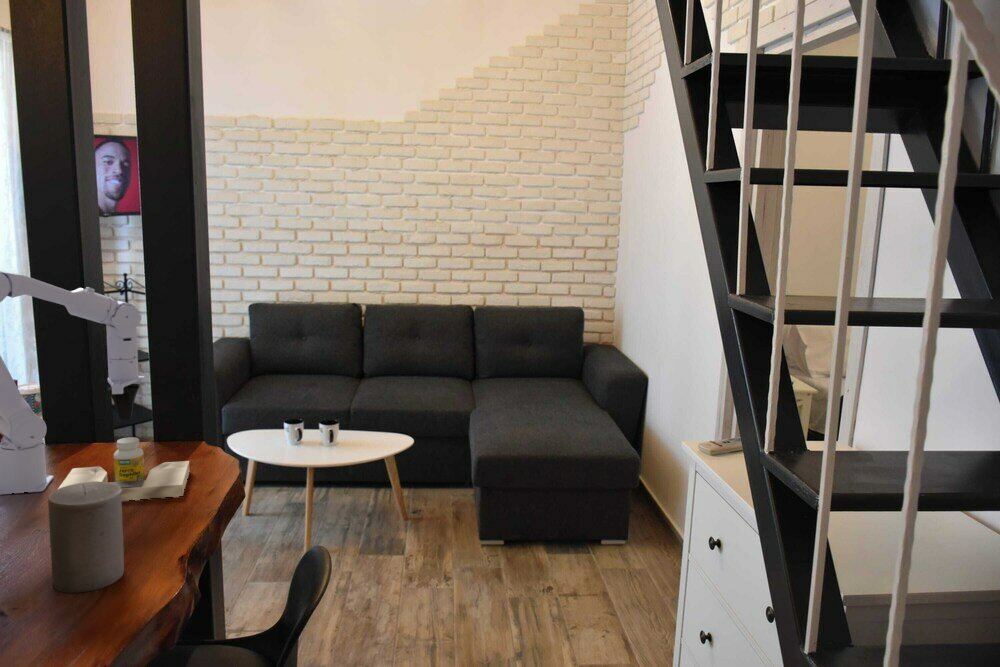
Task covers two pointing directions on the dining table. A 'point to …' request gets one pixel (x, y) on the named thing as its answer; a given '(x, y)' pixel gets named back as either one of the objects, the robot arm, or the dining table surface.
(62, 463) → the dining table surface
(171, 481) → the jig block
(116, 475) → the supplement bottle
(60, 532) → the pillar candle
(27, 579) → the dining table surface
